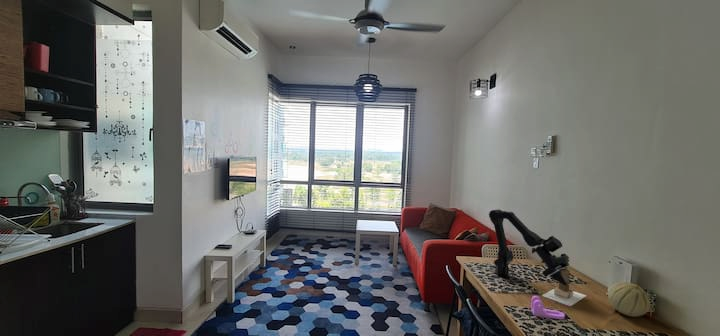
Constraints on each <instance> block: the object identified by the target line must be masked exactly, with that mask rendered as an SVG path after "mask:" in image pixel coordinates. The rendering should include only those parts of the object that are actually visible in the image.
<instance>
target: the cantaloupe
mask: <svg viewBox="0 0 720 336" xmlns="http://www.w3.org/2000/svg"><path fill="white" fill-rule="evenodd" d="M607 293H608V294H607V295H608V296H607V297H608V301H609V303H610V304H611V306H612V307H613V308H614V309H615V310H616V311H618V312H619V313H620V314H623V315H625V316H628V317H633V318H638V317H642V316H644V315H646V313H648V311H649V309H650V306H651V300H650V297H649V295H648V293H647V292H646V291H645V290H644V289H643V288H642V287H640V285H638V284H634V283H631V282H629V281H627V282H625V281H623V282H617V283H614V284H613V285H611V287H610V288H609V290H608V292H607Z"/></svg>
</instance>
